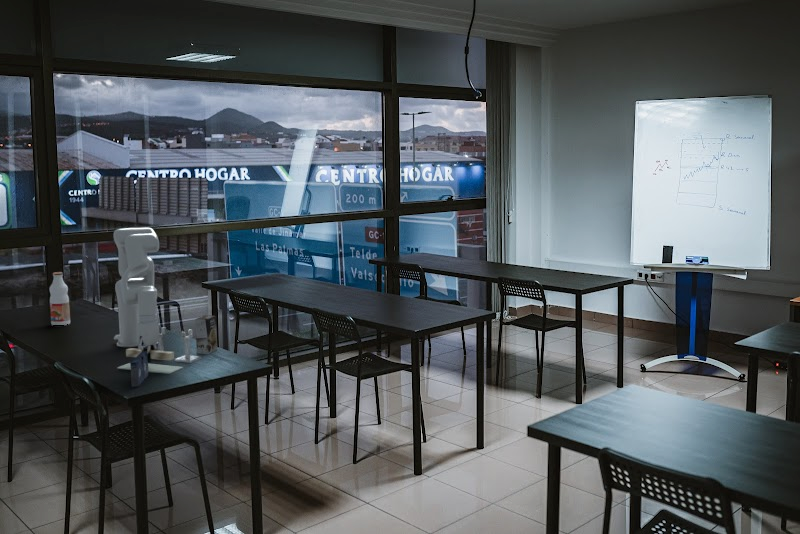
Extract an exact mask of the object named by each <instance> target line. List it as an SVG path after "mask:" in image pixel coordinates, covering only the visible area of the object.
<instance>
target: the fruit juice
mask: <svg viewBox="0 0 800 534" xmlns="http://www.w3.org/2000/svg"><path fill="white" fill-rule="evenodd" d="M52 276H53V280H52V283H51V284H50V286H49V293H50V297H49V309H50V323H51V326H53V325H64V326H68V325H70V324H71V311H70V309H71V308H70V297H69V295H68V291H69V287H68V285H67V284H66V283H65V281H64V278H63V276H64V274H63V272H62V271H57V272H53V273H52ZM67 324H68V325H67Z"/></svg>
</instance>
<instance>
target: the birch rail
mask: <svg viewBox="0 0 800 534" xmlns="http://www.w3.org/2000/svg"><path fill="white" fill-rule="evenodd" d="M141 352H142V351H141V350H140V349H138V348H135V347H128V348H126V349H125V356H126V357H127V358H129V357H130V358H136V357H137V356H138V355H139V354H140V353H141ZM149 353H150V356H151V359H158V360H157V361H168V362H169V361H173V360H175V351H170V350H169V351H167V350H164V351H158V349H157V350H150V349H149Z"/></svg>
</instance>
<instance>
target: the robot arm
mask: <svg viewBox="0 0 800 534" xmlns="http://www.w3.org/2000/svg"><path fill="white" fill-rule="evenodd" d="M113 241H114V243H115V245H116V248H117V250H118V251H117V252H118V259H117V260H118V274H119V276H120V277H121V279H119V280H118V281H116V283H115V287H114V288H115V289H114V290H115V294H116V301H117V308H118V326H119V328H118V329H119V334H115V335H114V336H113V340H117V342H116V346H117V347H119V348H120V347H121V348H135V347H137V349H140V350H141V351H142V352H144V351H147V354H148V363H149V364H151V361H157V360H156V359H151V356H150V353H149V350H158V344H159V343H160V334H161V333H160V325H159V321H158V307H157V305H158V304H157V299H158V290H157V288H156V287H155V262H154V259H152V257H149V256H148V253H149V254H150V253H156V252H158V251H159V249H160V240H159V236H158V235H157V233H156V232H155V230H154V229H153V228H152V227H128V228H126V227H124V228H117V229H115V230H114V231H113Z"/></svg>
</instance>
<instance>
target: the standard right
mask: <svg viewBox="0 0 800 534" xmlns="http://www.w3.org/2000/svg"><path fill="white" fill-rule="evenodd" d="M187 333H188V334H187V335H186V331H181V332H180V339H181V340H182V341H184V355H181V356H179V357H176V358H174V362H179V363H189V364H191V363H194V362H196V361H198V360H201V359H202V356H201V355H200V356H199V355H191V338H193V337H194V335H193V333H194V331H193V329H188V330H187Z"/></svg>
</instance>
